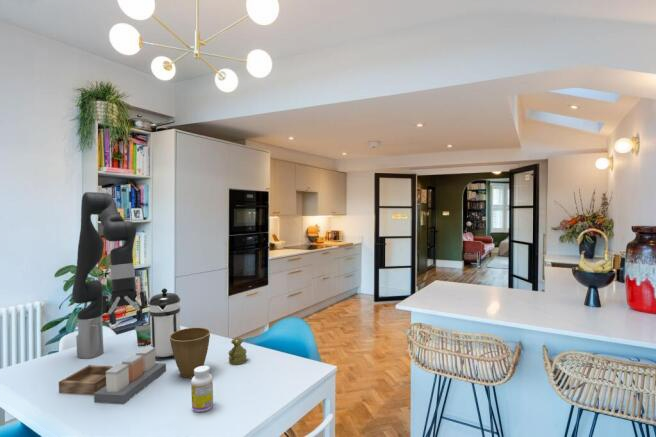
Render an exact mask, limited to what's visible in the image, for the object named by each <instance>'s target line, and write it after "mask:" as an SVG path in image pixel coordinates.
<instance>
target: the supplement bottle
mask: <svg viewBox="0 0 656 437" xmlns="http://www.w3.org/2000/svg"><path fill="white" fill-rule="evenodd" d="M194 374H195V376H194V377H191V380H190V386H191V409H192V410H193V411H194V412H196V413H204V412H208V411H209V410H210V409H212V408H213V407H214V385H213V384H214V383H213V382H214V381H213V380H214V378H213V375H212V374H211V373H210V366H209V365H204V366H199V367H197V368H195V369H194Z"/></svg>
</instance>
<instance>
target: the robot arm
mask: <svg viewBox="0 0 656 437" xmlns="http://www.w3.org/2000/svg"><path fill="white" fill-rule="evenodd" d="M80 206H81V209H80V211H81V212H80V230H79V239H78V245H77V246H78V247H77V256H76V257H77V259H76V270H75V275H74V280H73V285H72V292H71V294H72V296H71V297H72V301H73V302H74V303H75V304H78V305H79V304H80V305H81V304H86V303H90V304H89V305H87V306H86V307H84V308H83V309H81V310H79V311H78V312H77V332H78V333H77V335H76V336H75V337H76V339H75V340H76V357H77V358H79V359H91V358H92V359H93V358H96V357H98V356H101V355H103V354H104V335H103V334H104V333H103V332H104V328H103V314H108V316H109V317H108V319H109V321H108V322H109V324H111V325H112V326H113V325H116V324H117V316H116V311H117V309H118V308H119V307H122V306H131V307H133V309H135V310H136V311H135V313H136V315H135V316H136V322H137V323H138V322H141V321H142V319H143V315H144V314H143V310H144V309H145V308H147V307H149V306H148V305H149V303H148V298H147V291H146V290H142V291H137V287H136V286H137V285H136V284H137V283H136V272H135V265H134V256H133V255H134V243H135V239H136V236H137V226H136V224H135V223H134V222H133V221H130V220H128V221H126V220H125V219H124V218H123V216H122V215H121V214H120V213H119V210H118V208H117V205H116V201H115V199H114V197H113V196H112V195H111V194H110V193H108V192H95V191H94V192H93V191H91V192H90V191H87V192H84V193H83V195H82V197H81V204H80ZM93 215H94V216H95V215H97V216H98V215H99V222H100V223H101V226H102V227H103V228H102V236H103V237H102V236H101V235H100V233H99V232H98V230H97V229H96V228H95V226H94V223H93V222H92V216H93ZM103 238H104V239H103ZM104 240H106V241H107V242H123V241H124V243H123V245H122V246H119V247H115V248H112V249H111V250H110V252H109V254H110V256H109V257H110V282H111V291H112V292H111V294H110V295H109V294H106V295H103V291H104V290H103V284H102V282H101V281H100V280H98V279H95V280H93V279H92V280H87V279H88V277H89V275H90V273H91V272H92V271H93V270H94V269H95V268H96V266H97V265H98V264H99V263H100V261H101V260H102V258H103V256H104V247H105V246H104V245H105V242H104ZM137 296H138V298H140V299H139V300H140V302H139V301H138V300H137V299H136V298H137ZM111 300H112V301H113V303H112V305H111V307H110V301H111ZM140 303H141V304H140Z"/></svg>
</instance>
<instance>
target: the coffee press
mask: <svg viewBox="0 0 656 437" xmlns="http://www.w3.org/2000/svg"><path fill="white" fill-rule="evenodd" d="M180 302H181V298H180V296H179V295H178V294H176V293H175V292H168V290H167V288H162V289H161V293H157V294H155V295H153V296H152V297H150V299H149V301H148V305H149V309H148V310H149V313H148V314H149V322H150V330H151V345H150V347H155V360H157V359H158V358H166V357H171V356H172V357H173V358H174V355H173V351H172V347H171V342H170V335H171V334H172V333H174V332H176V331H179V330H181V306H180Z"/></svg>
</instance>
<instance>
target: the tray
mask: <svg viewBox="0 0 656 437" xmlns="http://www.w3.org/2000/svg"><path fill="white" fill-rule="evenodd" d="M114 366H115V365H96V364H95V365H93V364H92V365H90V364H89V365H87V366H85V367H83V368H81V369H80V370H77V371H76V372H74V373H72V374H71V375H68V376H67V377H65V378H63V379H61V380H60V381H58V393H59V394H68V395H69V394H70V395H89V396H90V395H91V396H94V393H96V392H97V391H99V390H100V389H102V388H103V387H105V386H106V371H108V370H109V369H111V368H113V367H114Z"/></svg>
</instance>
